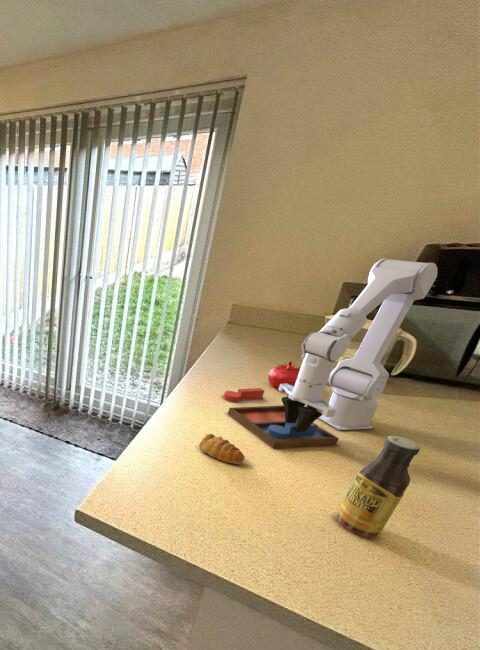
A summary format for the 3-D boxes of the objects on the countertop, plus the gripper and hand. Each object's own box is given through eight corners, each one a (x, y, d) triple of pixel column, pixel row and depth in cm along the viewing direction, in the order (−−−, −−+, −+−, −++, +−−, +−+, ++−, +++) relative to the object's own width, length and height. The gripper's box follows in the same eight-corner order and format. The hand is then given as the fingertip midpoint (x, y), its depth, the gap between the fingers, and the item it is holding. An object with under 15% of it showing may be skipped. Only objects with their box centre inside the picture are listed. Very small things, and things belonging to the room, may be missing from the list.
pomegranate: (305, 397, 123) (315, 370, 119) (266, 390, 128) (274, 364, 124) (301, 385, 131) (310, 359, 127) (264, 379, 136) (272, 354, 132)
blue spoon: (304, 428, 105) (307, 419, 104) (318, 438, 101) (322, 428, 100) (263, 430, 105) (266, 421, 103) (275, 440, 101) (279, 430, 99)
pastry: (248, 459, 95) (252, 446, 93) (233, 469, 92) (237, 456, 90) (209, 441, 102) (212, 429, 101) (194, 449, 99) (197, 437, 97)
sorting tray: (282, 411, 115) (284, 405, 114) (336, 445, 99) (339, 438, 99) (227, 413, 115) (229, 407, 114) (273, 448, 99) (275, 441, 98)
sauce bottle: (326, 516, 78) (364, 431, 70) (355, 513, 78) (396, 428, 70) (359, 542, 72) (404, 452, 64) (390, 539, 72) (439, 450, 64)
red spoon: (254, 394, 125) (257, 386, 124) (265, 400, 121) (267, 392, 120) (220, 396, 125) (222, 387, 124) (229, 402, 121) (231, 393, 120)
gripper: (273, 369, 103) (259, 413, 109) (322, 394, 90) (303, 443, 95) (299, 368, 103) (284, 412, 109) (351, 392, 90) (331, 442, 96)
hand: (295, 427), depth 102 cm, fingers open, 3 cm apart
